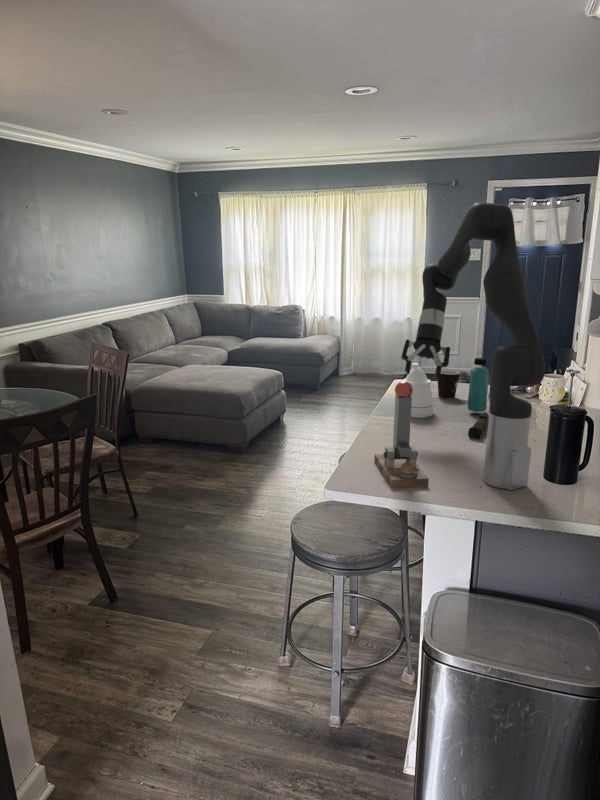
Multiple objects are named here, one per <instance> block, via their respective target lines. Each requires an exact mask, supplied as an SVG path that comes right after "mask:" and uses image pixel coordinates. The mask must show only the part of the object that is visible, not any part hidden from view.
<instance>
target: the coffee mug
mask: <svg viewBox="0 0 600 800" xmlns="http://www.w3.org/2000/svg"><path fill="white" fill-rule="evenodd" d="M459 377H460V372H459V371H455V370H450V369H449V370H445V369H444V370H442V369H441V373H440V377H439V378H437V392H438V393H437V394H438V396H439V397H438V398H440V397H441V398H440V399H444V398H453V399H455V398H456V393H457V387H458V384H459ZM454 397H455V398H454Z"/></svg>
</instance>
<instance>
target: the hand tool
mask: <svg viewBox="0 0 600 800" xmlns="http://www.w3.org/2000/svg"><path fill="white" fill-rule="evenodd" d="M488 421H489V413H488V412H486V411H484V412H481V413H480V414H479V416H478V419H477V420H476V422H475V423H474V424H473V425H472V427H469V429H468V432H467V433H468V434H467V436H468V438H469V437H470V438H469V439H473V438H476V439H475V440H479V439H481V437H482V434H483V433H484V431H485V429H487V428H488ZM486 427H487V428H486Z"/></svg>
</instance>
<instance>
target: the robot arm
mask: <svg viewBox="0 0 600 800" xmlns="http://www.w3.org/2000/svg"><path fill="white" fill-rule="evenodd" d="M460 223H461V224H460V225H459V227H458V230H457V231H456V233H455V236H454V238H453V240H452V241H451V244H450V245H449V247H448V248H447V250H446V251H444V253H443V255H442V256H440V258H439V260H438V263H437V264H436V263H429V264H427V265H426V266H425V267H424V269H423V272H422V287H423V304H422V308H421V309H422V310H421V313H420V317H419V321H418V326H417V332H416V336H415V337H416V338H415V341H410V339H406V340H405V342H404V344H403V349H402V352H401V353H402V354H401V357H400V358H401V360H404V362H406V363H405V368H404V372H405V373H406V375H408V374H409V373H410V371H411V369H412V365H411V364H412V361H413V360H414V359H416V358H417V357H419V358H422V359H423V358H425V359H428V360H431V359H432V361H433V363H434V364H435V366H436V367H435V371H434V378H433V379H434V380H438V378H439V377H440V373H441V371H442V369H443V368H447V367H448V366H449V364H450V363H449V362H450V353H451V347H450V346H446V347H445V346H442V345H441V341H442V338H443V337H442V336H443V329H444V324H445V313H446V308H447V300H448V298H447V296H446V295H444V294H443V293H441V292H439V291H438V290H437V289H439V290H443V291H449V290H451V289H453V288H454V287H455V285H456V283H457V279H458V276H459V273H460V272H461V271H462V270H463V268H464V267H465V266H466V265H467V264H468V263H469V261H470V258H471V254H472V251H471V250H472V249H471V246H470V241H471V240H474V239H475V240H479V241H490V242H493V243H494V244H495V250H496V253H495V256H494V259H493V260H492V262H491V263H490V265H489V267H488V268H487V270H486V272H485V275H484V278H483V291H484V295H485V300H486V301H485V302H486V305H487V307H488V309H489V310H490V312H491V313H492V314H493V316H494V317H495V318H496V319H498V321H499V322H500V323H502V325H503V326H504V327H505V328H506V329H507V330H508V331H509V333H510V334H511V335H512V337H513V339H514V341H515V344H516V345H499V346H497V347H495V349H494V350H493V353H492V356H491V360H490V372H489V376H490V379H489V380H490V381H489V413H488V422H487V431H486V432H487V433H486V444H485V445H486V446H485V456H484V467H483V479H482V480H483V482H484V483H485V484H487V485H489V486H491V487H493V488H499V489H504V490H508V491H513V490H517V489H521V488H525V487H527V486H528V484H529V483H528V482H529V474H530V473H529V472H530V465H531V464H530V463H531V455H532V448H531V447H530V446H528V445H529V440H530V439H529V437H530V429H531V428H530V427H531V422H532V421H531V418H532V411H533V407H532V404H531V402H529V401H527V400H526V399H523V398H520V397H517V396H515V395H513V394H512V392H511V391H512V390H511V387H512V386H513V387H515V386H519V387H524V386H525V387H527V386H529V387H530V386H537V385H539V384H541V383H542V381H543V380H544V378H545V374H546V373H545V372H546V363H545V357H544V353H543V350H542V347H541V344H540V343H541V342H540V341H539V338H538V334H537V331H536V328H535V326H534V323H533V319H532V318H533V317H532V315H531V311H530V307H529V301H528V297H527V290H526V286H525V281H524V277H523V274H522V269H521V265H520V259H519V256H518V248H517V242H516V232H515V231H516V230H515V229H516V228H515V221H514V215H513V212H512V209H511V207H509V206H508V205H506V204H502V203H492V202H476V203H473V204H472V205H471V206H470V208H469V209H468V210H467V212H466V213H465V215H464V218H463V219H462V221H461V222H460ZM411 347H413V349H414V352H412V354H411V355H409V356H408V355H407V354H408V350H409V349H411ZM440 351H441V352H442V354H443V362H442V361H441V359H440V357H439V353H440Z"/></svg>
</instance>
